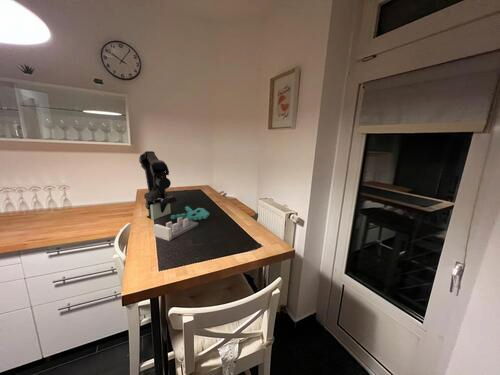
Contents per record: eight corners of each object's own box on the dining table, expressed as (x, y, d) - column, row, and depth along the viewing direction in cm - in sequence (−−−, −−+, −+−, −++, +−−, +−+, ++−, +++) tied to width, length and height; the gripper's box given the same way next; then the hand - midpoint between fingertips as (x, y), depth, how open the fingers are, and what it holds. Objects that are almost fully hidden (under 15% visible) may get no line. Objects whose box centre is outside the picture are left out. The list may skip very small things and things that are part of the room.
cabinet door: (151, 219, 112) (150, 204, 111) (168, 212, 123) (167, 199, 121) (154, 220, 111) (153, 205, 110) (171, 213, 122) (171, 200, 120)
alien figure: (170, 219, 129) (200, 223, 125) (170, 216, 129) (200, 220, 125) (186, 209, 148) (213, 212, 144) (186, 206, 148) (213, 209, 144)
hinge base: (154, 236, 106) (153, 225, 105) (184, 221, 126) (184, 212, 124) (169, 240, 102) (168, 229, 101) (198, 225, 122) (198, 215, 120)
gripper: (134, 185, 110) (136, 213, 114) (160, 190, 102) (161, 220, 106) (152, 181, 120) (153, 207, 123) (176, 186, 112) (177, 213, 116)
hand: (161, 212), depth 117 cm, fingers closed on cabinet door, 2 cm apart
